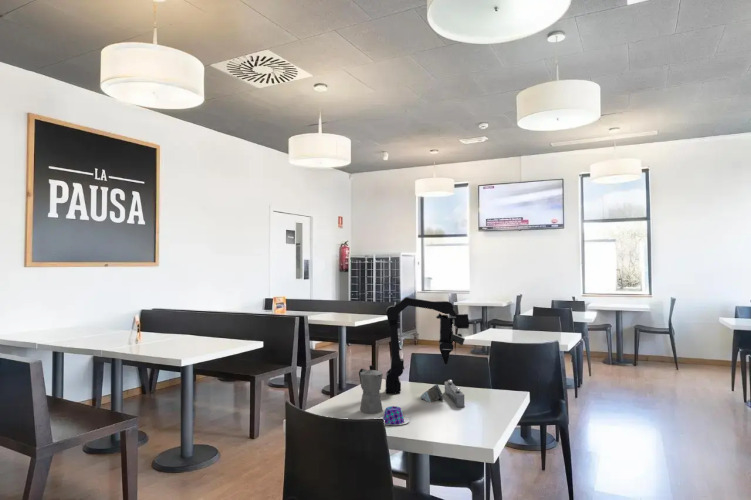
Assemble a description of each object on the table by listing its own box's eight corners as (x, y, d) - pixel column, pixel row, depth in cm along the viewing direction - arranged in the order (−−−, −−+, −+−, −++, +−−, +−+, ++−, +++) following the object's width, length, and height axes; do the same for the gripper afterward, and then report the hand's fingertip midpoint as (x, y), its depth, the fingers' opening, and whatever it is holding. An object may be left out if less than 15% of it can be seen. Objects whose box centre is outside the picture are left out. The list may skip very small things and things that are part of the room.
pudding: (390, 415, 194) (390, 402, 194) (416, 421, 187) (416, 407, 187) (370, 422, 185) (370, 408, 185) (396, 429, 177) (396, 414, 178)
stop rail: (457, 407, 205) (457, 391, 206) (444, 392, 231) (444, 378, 232) (464, 407, 206) (464, 390, 206) (451, 392, 232) (450, 378, 232)
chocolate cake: (415, 397, 224) (419, 383, 216) (427, 391, 227) (433, 377, 219) (426, 415, 218) (432, 401, 210) (439, 409, 221) (445, 394, 213)
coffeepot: (390, 412, 197) (390, 366, 198) (370, 416, 192) (370, 369, 193) (369, 404, 210) (369, 361, 211) (349, 407, 205) (349, 363, 206)
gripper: (464, 331, 223) (464, 366, 222) (462, 326, 241) (462, 359, 240) (439, 330, 224) (439, 365, 223) (439, 326, 243) (438, 358, 242)
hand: (445, 362), depth 232 cm, fingers open, 9 cm apart
